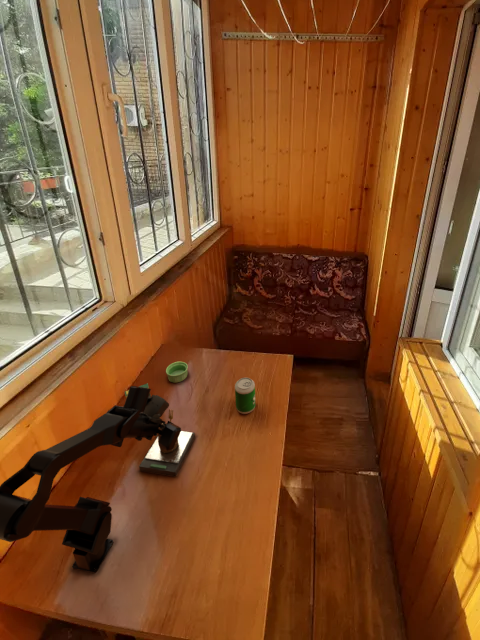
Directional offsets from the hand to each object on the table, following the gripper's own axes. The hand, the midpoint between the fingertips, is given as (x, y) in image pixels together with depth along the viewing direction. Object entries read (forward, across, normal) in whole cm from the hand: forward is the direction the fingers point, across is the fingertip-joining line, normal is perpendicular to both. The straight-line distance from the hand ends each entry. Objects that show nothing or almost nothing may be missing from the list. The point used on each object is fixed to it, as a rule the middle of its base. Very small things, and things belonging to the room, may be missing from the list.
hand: (170, 426), depth 101 cm
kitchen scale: (+5, 0, +8) cm, 9 cm away
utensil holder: (+4, 0, +6) cm, 7 cm away
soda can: (+24, -12, -11) cm, 29 cm away
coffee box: (+9, +20, +4) cm, 22 cm away
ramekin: (+24, +24, -11) cm, 36 cm away
